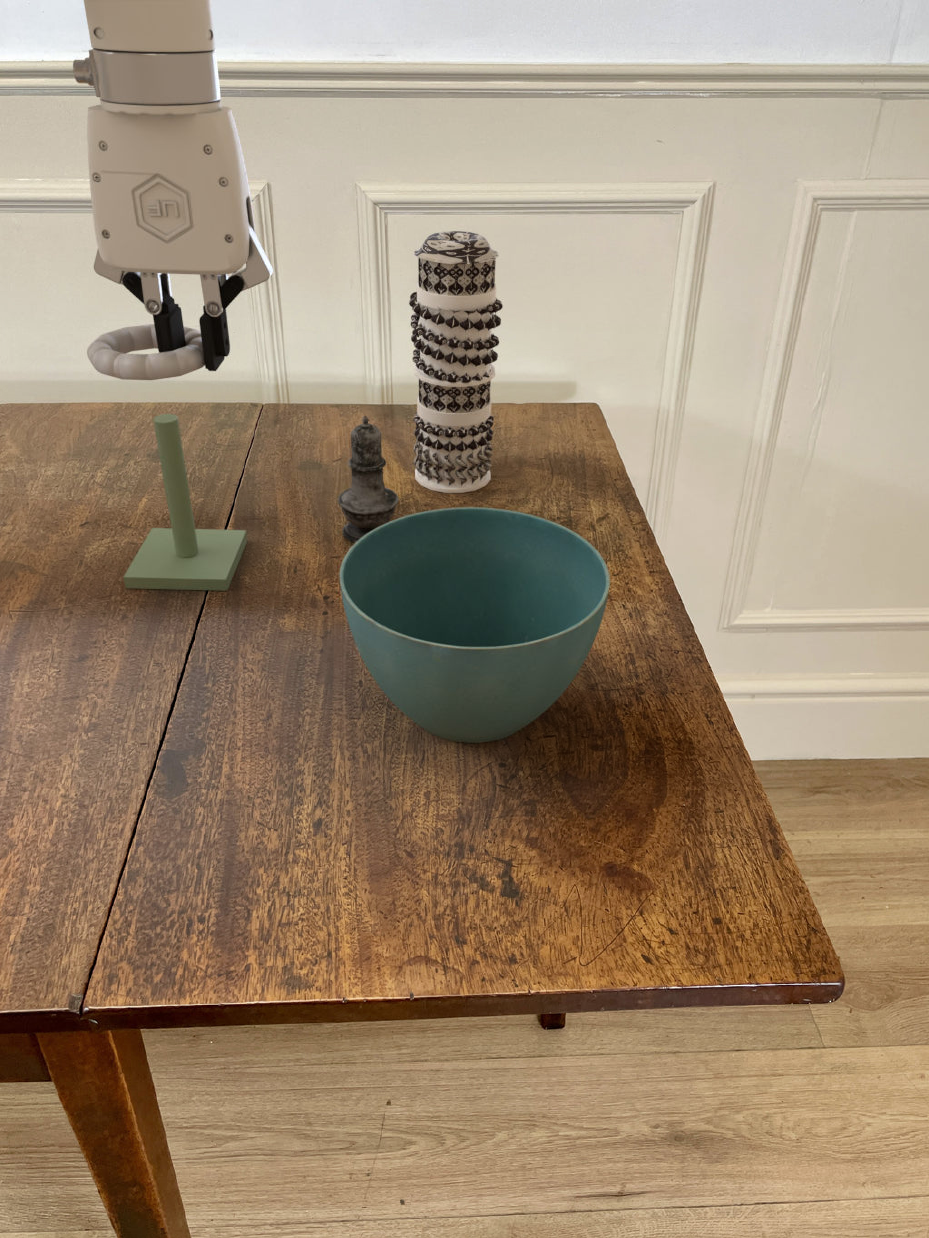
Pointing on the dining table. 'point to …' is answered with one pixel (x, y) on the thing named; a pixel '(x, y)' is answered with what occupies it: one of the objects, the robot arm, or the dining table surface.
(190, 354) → the ring
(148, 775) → the dining table surface
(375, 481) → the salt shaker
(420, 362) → the decorative candle
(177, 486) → the rack
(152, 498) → the dining table surface
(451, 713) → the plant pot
